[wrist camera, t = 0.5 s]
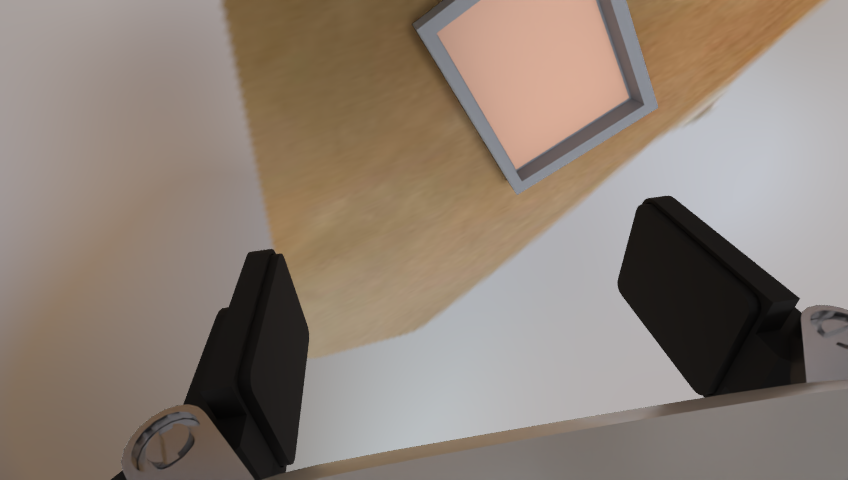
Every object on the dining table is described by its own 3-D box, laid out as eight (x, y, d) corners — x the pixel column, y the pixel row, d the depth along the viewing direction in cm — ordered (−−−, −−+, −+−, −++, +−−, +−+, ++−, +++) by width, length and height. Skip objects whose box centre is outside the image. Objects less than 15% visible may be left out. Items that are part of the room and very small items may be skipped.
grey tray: (574, -101, 30) (593, -106, 27) (639, 97, 39) (658, 107, 36) (411, 24, 33) (416, 29, 30) (507, 180, 42) (517, 194, 39)
